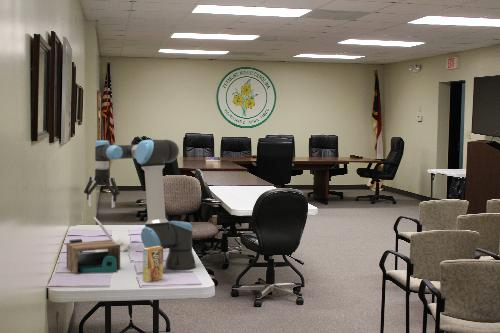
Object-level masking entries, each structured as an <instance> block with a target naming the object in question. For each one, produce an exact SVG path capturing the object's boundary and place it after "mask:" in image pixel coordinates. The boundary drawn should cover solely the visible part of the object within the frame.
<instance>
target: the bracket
mask: <svg viewBox="0 0 500 333" xmlns="http://www.w3.org/2000/svg"><path fill="white" fill-rule="evenodd" d="M108 261H111V262H112V263H111V264H110V263H108ZM117 272H118V269H117V258H116V256H115V255H113V254H108V255H106V256H105V257H104V259H103V262H102V265H96V266H80V267H78V273H80V274H81V273H82V274H87V273H88V274H92V273H93V274H94V273H95V274H97V273H98V274H101V273H103V274H107V273H112V274H113V273H117Z"/></svg>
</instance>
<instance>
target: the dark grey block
mask: <svg viewBox="0 0 500 333" xmlns="http://www.w3.org/2000/svg"><path fill="white" fill-rule="evenodd" d="M78 242H83V239H82V238H76V239H74V238H73V239H69V241H68V243H78ZM108 254H109V251H103V252H95V251H92V252H85V251H78V268H79V267H80V266H97V265H102V262H103V259H104V257H105V256H106V255H108ZM108 263H109V261H108Z"/></svg>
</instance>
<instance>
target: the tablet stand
mask: <svg viewBox="0 0 500 333" xmlns="http://www.w3.org/2000/svg"><path fill="white" fill-rule="evenodd" d="M93 219H94V220H95V222H96V223H97V224H98V225H99V228H101V230H102V231H103V232H104V234H105V235H106V237H107V238H108V240H111V241H113V242H115V243H117V244H119V245H120V253H124V252H125V251H126V250H128V249H129V247H128V246H127V244H126V243H125V242H124V241H123V240H122V239H118V240H116V241H115V240H114V238H112V236H111V234H110V233H109V232H108V231H107V229H106V228H105V227H104V225H103V224H102V223H101V222H100V221H99V219H98V218H97V217H96V216H94V217H93ZM103 251H108V249H100V250H93V252H103Z"/></svg>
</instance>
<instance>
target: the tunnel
mask: <svg viewBox="0 0 500 333" xmlns="http://www.w3.org/2000/svg"><path fill="white" fill-rule="evenodd" d="M115 242H116V241H114V242H113V241H111V240H110V239H103V240H93V241H82V242H78V243H69V242H68V243H66V269H68V270H69V271H70V272H72V273H73V274H75V275H78V273H79V267H78V251H83V252H87V251H94V250H100V249H108V251H109V254H113V255H115V256H116V258H117V271H119V270H121V252H120V245H119V244H117V243H115ZM109 263H110V264H111V263H112V262H111V261H109Z"/></svg>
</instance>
